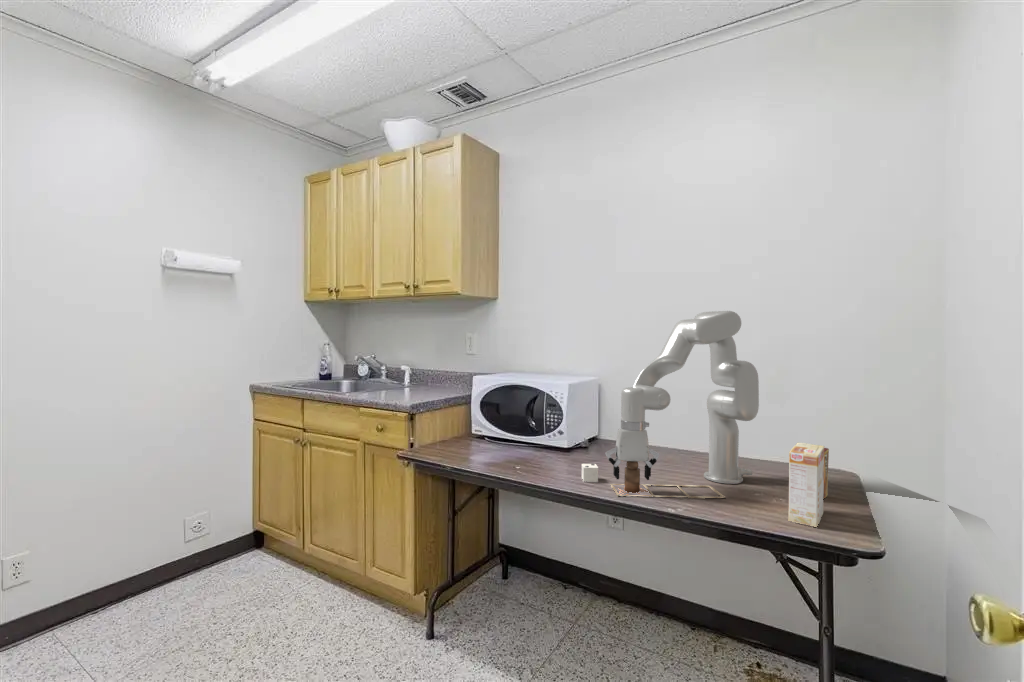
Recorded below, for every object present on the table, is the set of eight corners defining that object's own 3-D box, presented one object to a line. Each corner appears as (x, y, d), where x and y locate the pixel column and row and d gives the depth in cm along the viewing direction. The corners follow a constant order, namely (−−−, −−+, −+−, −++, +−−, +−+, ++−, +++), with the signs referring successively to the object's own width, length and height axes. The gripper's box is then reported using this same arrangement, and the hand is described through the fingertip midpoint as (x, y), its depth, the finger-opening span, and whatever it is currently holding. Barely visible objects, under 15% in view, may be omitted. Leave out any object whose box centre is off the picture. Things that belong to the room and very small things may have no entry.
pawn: (637, 487, 154) (638, 457, 154) (641, 492, 150) (641, 460, 150) (623, 487, 155) (623, 456, 154) (626, 492, 150) (626, 460, 150)
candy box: (812, 492, 153) (813, 445, 153) (828, 495, 150) (829, 448, 150) (806, 499, 147) (807, 450, 146) (822, 502, 144) (823, 452, 144)
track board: (710, 486, 158) (710, 485, 158) (726, 498, 146) (726, 497, 146) (610, 485, 158) (610, 483, 158) (617, 496, 146) (617, 495, 146)
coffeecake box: (795, 507, 140) (797, 441, 139) (824, 513, 135) (825, 445, 135) (786, 522, 128) (788, 450, 128) (817, 529, 124) (819, 455, 123)
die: (595, 478, 166) (595, 463, 166) (598, 482, 161) (598, 467, 161) (581, 477, 166) (581, 463, 166) (583, 482, 161) (583, 467, 161)
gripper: (656, 424, 156) (655, 475, 156) (603, 423, 156) (603, 474, 156) (663, 428, 148) (662, 482, 148) (608, 427, 148) (607, 481, 149)
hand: (631, 478), depth 152 cm, fingers open, 9 cm apart
